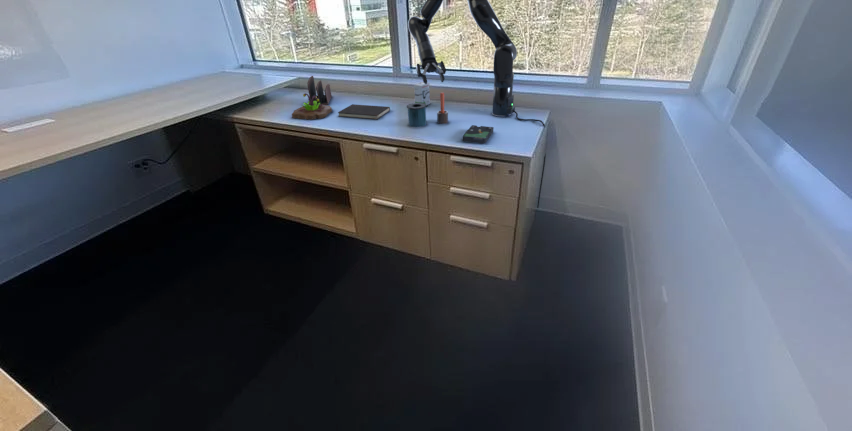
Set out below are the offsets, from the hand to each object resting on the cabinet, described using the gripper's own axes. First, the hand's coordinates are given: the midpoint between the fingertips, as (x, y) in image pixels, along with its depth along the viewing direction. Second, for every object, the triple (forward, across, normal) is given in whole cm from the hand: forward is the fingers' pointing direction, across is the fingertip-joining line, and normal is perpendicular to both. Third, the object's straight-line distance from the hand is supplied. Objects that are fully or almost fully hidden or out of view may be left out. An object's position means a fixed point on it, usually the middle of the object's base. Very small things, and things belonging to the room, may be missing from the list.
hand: (434, 82), depth 184 cm
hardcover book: (-3, -33, +28) cm, 43 cm away
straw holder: (+20, 0, +5) cm, 20 cm away
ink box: (-4, 0, +29) cm, 29 cm away
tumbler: (+18, -12, +6) cm, 23 cm away
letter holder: (-29, -52, +54) cm, 80 cm away
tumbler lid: (+12, -12, 0) cm, 17 cm away
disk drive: (+37, +8, -12) cm, 40 cm away
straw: (+19, 0, +4) cm, 20 cm away
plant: (-12, -59, +36) cm, 71 cm away
